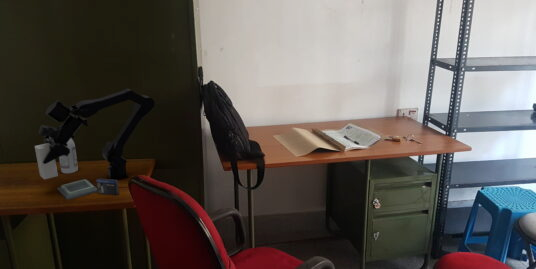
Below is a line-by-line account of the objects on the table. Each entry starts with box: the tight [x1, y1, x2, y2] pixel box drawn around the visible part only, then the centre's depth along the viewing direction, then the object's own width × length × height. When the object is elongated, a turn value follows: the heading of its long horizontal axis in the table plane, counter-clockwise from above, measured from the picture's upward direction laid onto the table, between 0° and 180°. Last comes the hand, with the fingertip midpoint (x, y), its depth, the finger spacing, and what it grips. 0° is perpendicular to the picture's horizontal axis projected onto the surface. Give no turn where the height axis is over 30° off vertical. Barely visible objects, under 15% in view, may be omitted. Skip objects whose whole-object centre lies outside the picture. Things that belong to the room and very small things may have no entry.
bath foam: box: [58, 138, 79, 175], centre depth 189 cm, size 7×7×20 cm
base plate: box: [57, 178, 98, 201], centre depth 173 cm, size 12×12×2 cm
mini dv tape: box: [96, 178, 120, 196], centre depth 170 cm, size 8×2×6 cm, turn 80°
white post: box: [34, 143, 59, 180], centre depth 167 cm, size 5×5×12 cm
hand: (42, 161), depth 166 cm, fingers closed on white post, 5 cm apart
